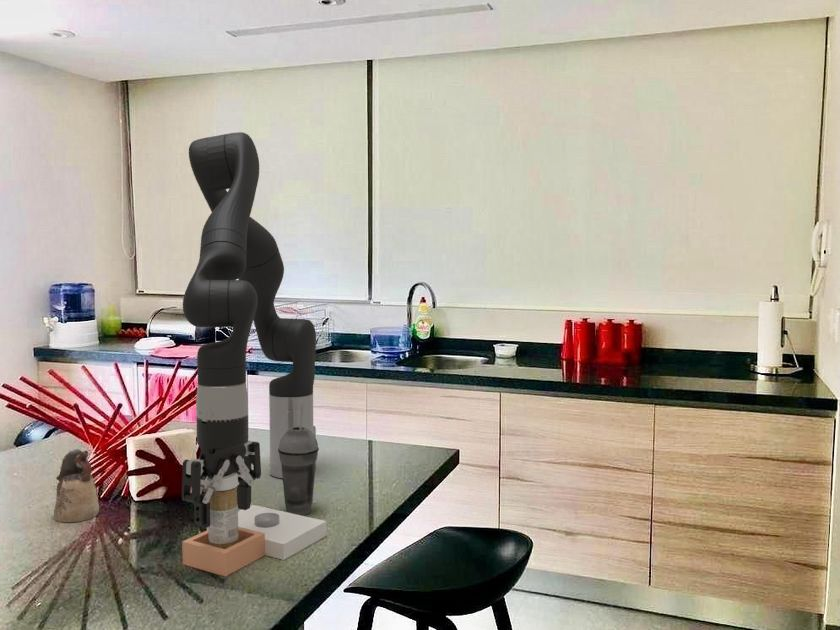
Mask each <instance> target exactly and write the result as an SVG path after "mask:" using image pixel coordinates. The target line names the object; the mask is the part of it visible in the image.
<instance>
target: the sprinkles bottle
mask: <svg viewBox="0 0 840 630" xmlns="http://www.w3.org/2000/svg"><path fill="white" fill-rule="evenodd" d="M211 480H212V479H209V478H208V477H206V481H211ZM237 485H239V483H238V474H237V473H232V474H230V475H228V476H225V477H222V479H221V481H220V484H219V486H218V488H217V489H216V490H214V491H213V493H212V495H211V497H210V500H209V503H210V526H209V527H208V535H209V545H211V546H214V547H218V548H222V549H227V548H229V547H231V546H233V545H235V544H237V543H238V511H239V509H238V504H237Z"/></svg>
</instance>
